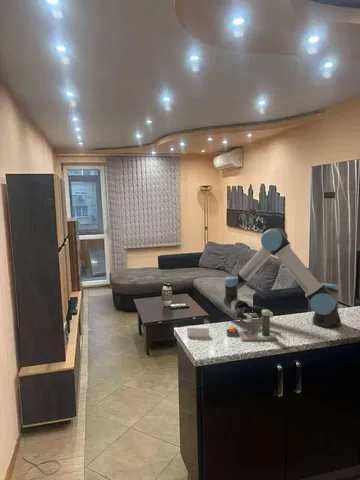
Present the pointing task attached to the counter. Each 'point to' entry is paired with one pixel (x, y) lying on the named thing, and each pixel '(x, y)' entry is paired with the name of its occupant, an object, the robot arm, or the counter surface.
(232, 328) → the button
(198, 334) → the white block piece
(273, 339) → the board
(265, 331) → the marker
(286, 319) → the counter surface
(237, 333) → the button housing
